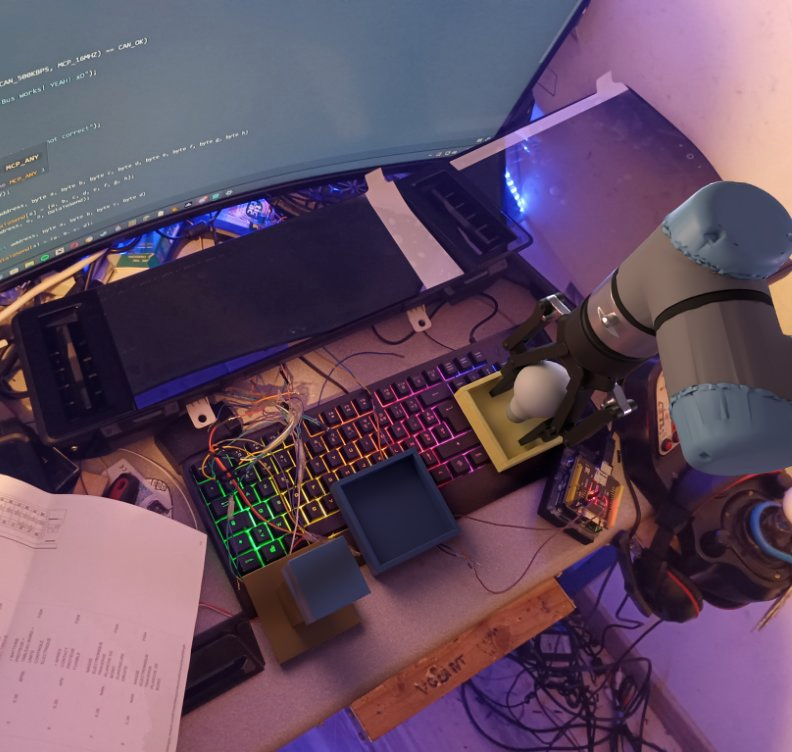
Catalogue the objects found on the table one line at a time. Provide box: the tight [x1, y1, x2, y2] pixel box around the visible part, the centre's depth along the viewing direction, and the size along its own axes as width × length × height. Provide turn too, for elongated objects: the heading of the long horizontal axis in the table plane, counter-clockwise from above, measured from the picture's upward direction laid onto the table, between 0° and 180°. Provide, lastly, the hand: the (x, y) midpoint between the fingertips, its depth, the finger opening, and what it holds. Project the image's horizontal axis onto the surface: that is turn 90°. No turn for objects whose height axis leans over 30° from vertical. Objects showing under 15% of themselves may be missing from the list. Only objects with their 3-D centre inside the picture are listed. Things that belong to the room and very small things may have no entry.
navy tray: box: [329, 446, 462, 578], centre depth 76 cm, size 10×10×3 cm
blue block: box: [282, 535, 372, 625], centre depth 59 cm, size 5×5×5 cm
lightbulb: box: [506, 360, 570, 424], centre depth 78 cm, size 6×6×11 cm
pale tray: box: [453, 370, 563, 474], centre depth 83 cm, size 10×10×3 cm
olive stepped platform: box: [241, 539, 361, 665], centre depth 67 cm, size 9×9×12 cm
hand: (514, 414), depth 83 cm, fingers closed on lightbulb, 6 cm apart
